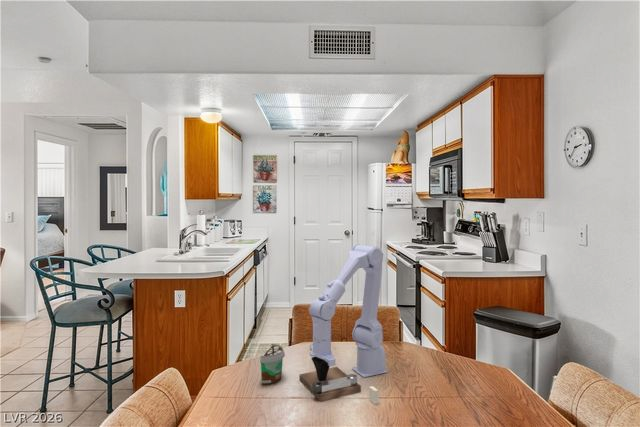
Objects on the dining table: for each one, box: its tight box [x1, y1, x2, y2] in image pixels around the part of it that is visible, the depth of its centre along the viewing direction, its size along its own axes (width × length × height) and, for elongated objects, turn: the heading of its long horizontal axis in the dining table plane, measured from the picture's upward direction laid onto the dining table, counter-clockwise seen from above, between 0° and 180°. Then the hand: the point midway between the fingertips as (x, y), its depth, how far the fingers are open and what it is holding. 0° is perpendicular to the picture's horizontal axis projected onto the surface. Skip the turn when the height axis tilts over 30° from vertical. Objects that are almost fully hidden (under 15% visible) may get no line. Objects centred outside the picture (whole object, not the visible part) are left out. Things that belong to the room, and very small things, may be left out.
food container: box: [259, 343, 286, 386], centre depth 137 cm, size 12×6×10 cm, turn 168°
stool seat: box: [298, 366, 362, 403], centre depth 133 cm, size 14×16×2 cm
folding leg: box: [312, 373, 358, 394], centre depth 127 cm, size 15×3×2 cm, turn 116°
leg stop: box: [368, 385, 379, 405], centre depth 122 cm, size 1×3×4 cm, turn 26°
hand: (322, 380), depth 130 cm, fingers closed
